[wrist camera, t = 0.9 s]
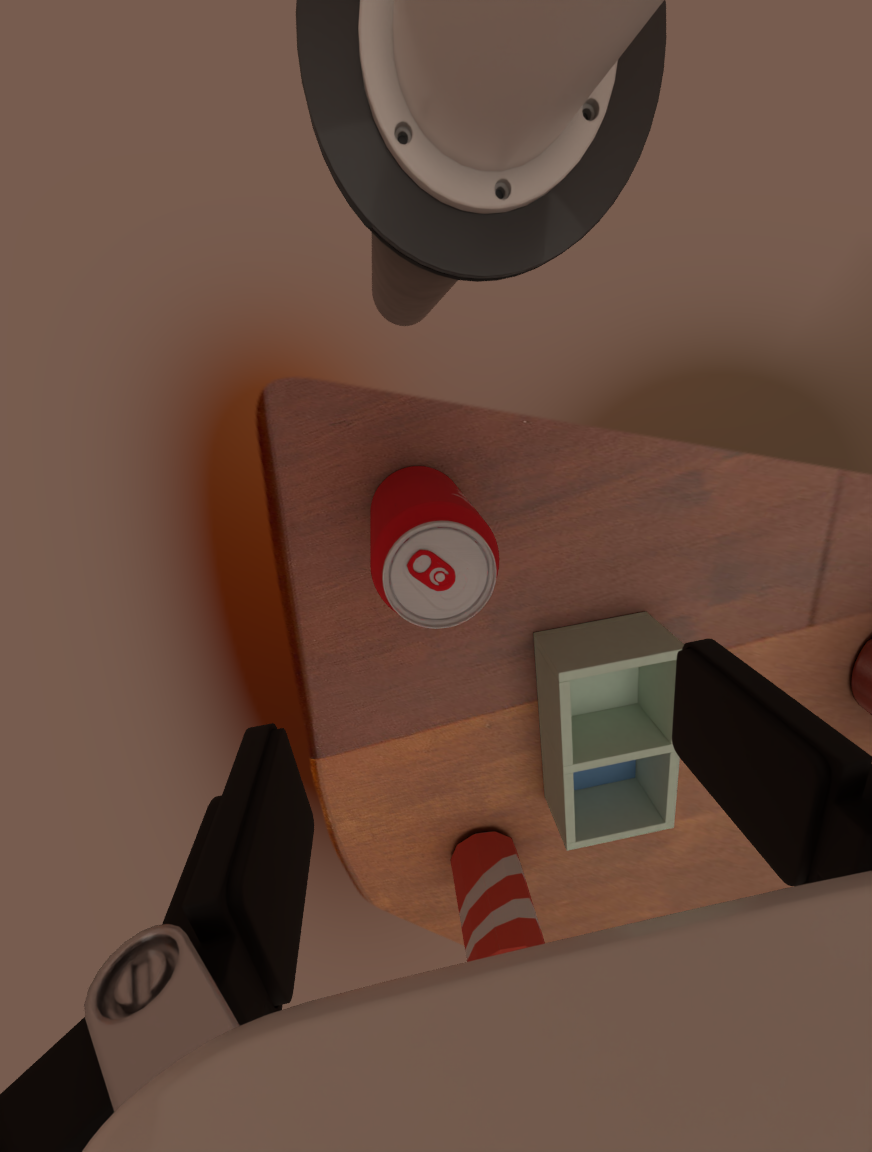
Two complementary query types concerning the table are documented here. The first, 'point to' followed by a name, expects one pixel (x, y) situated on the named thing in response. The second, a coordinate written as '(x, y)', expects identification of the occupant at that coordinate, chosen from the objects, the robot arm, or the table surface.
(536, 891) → the table surface
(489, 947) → the beverage can
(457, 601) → the beverage can
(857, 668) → the flower pot
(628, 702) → the grey divided storage box
